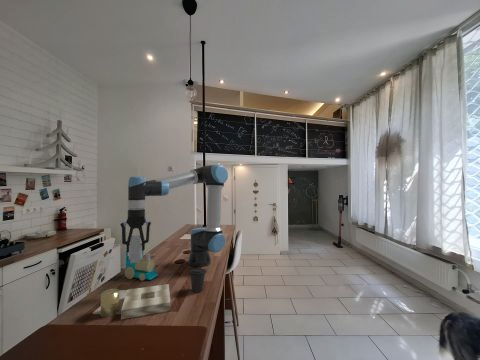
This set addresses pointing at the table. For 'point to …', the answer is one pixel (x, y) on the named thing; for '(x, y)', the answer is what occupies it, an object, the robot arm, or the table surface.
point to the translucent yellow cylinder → (109, 302)
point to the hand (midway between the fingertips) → (135, 258)
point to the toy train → (140, 268)
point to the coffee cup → (197, 279)
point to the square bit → (135, 249)
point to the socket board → (146, 301)
